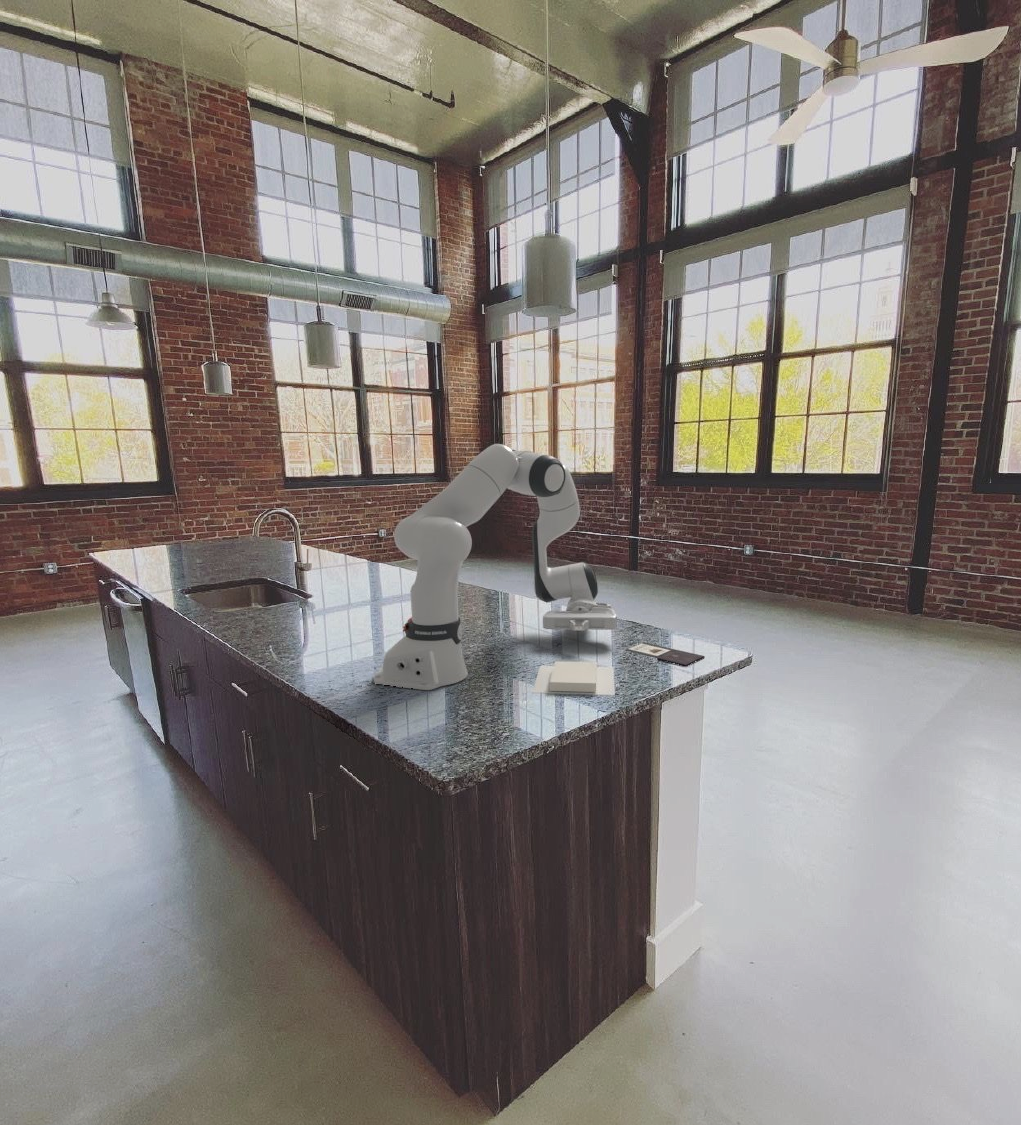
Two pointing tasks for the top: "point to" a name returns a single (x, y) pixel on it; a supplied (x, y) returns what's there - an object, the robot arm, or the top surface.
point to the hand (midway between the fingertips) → (578, 628)
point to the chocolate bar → (666, 654)
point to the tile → (574, 677)
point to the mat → (602, 688)
